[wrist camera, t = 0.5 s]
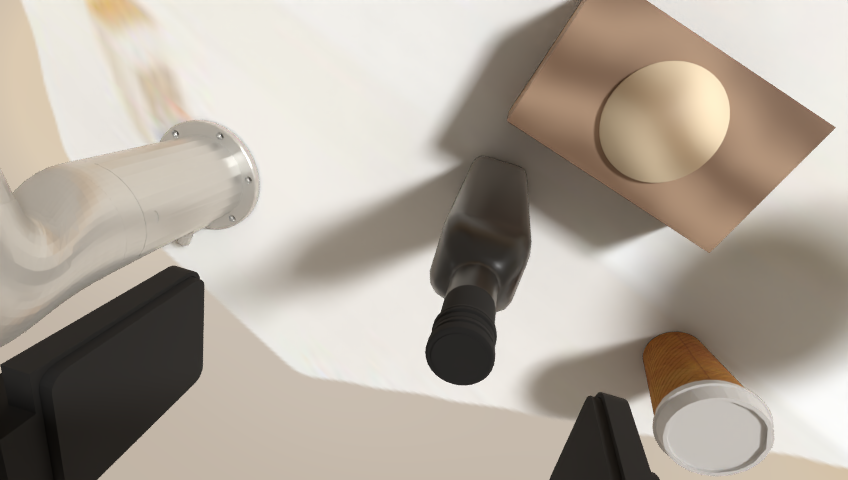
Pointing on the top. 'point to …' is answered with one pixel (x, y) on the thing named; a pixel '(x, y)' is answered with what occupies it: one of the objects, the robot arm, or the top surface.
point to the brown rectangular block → (664, 118)
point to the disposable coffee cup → (703, 409)
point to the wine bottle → (478, 268)
